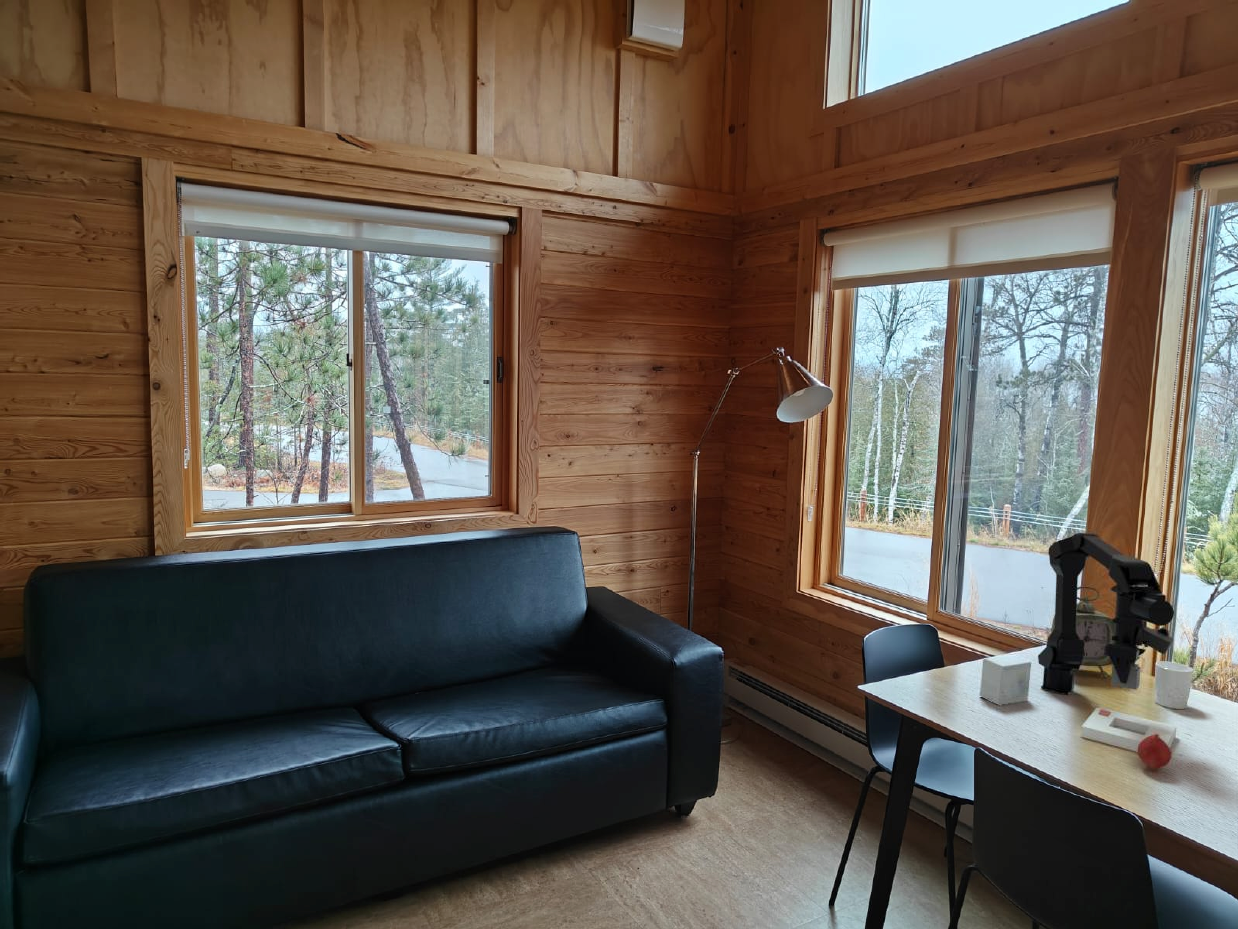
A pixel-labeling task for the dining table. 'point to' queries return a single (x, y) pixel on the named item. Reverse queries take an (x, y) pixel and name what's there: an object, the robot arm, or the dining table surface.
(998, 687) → the skincare box
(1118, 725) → the socket plate
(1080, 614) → the tabletop clock
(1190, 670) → the white cup
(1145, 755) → the onion
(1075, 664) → the robot arm
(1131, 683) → the plug
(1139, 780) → the dining table surface
